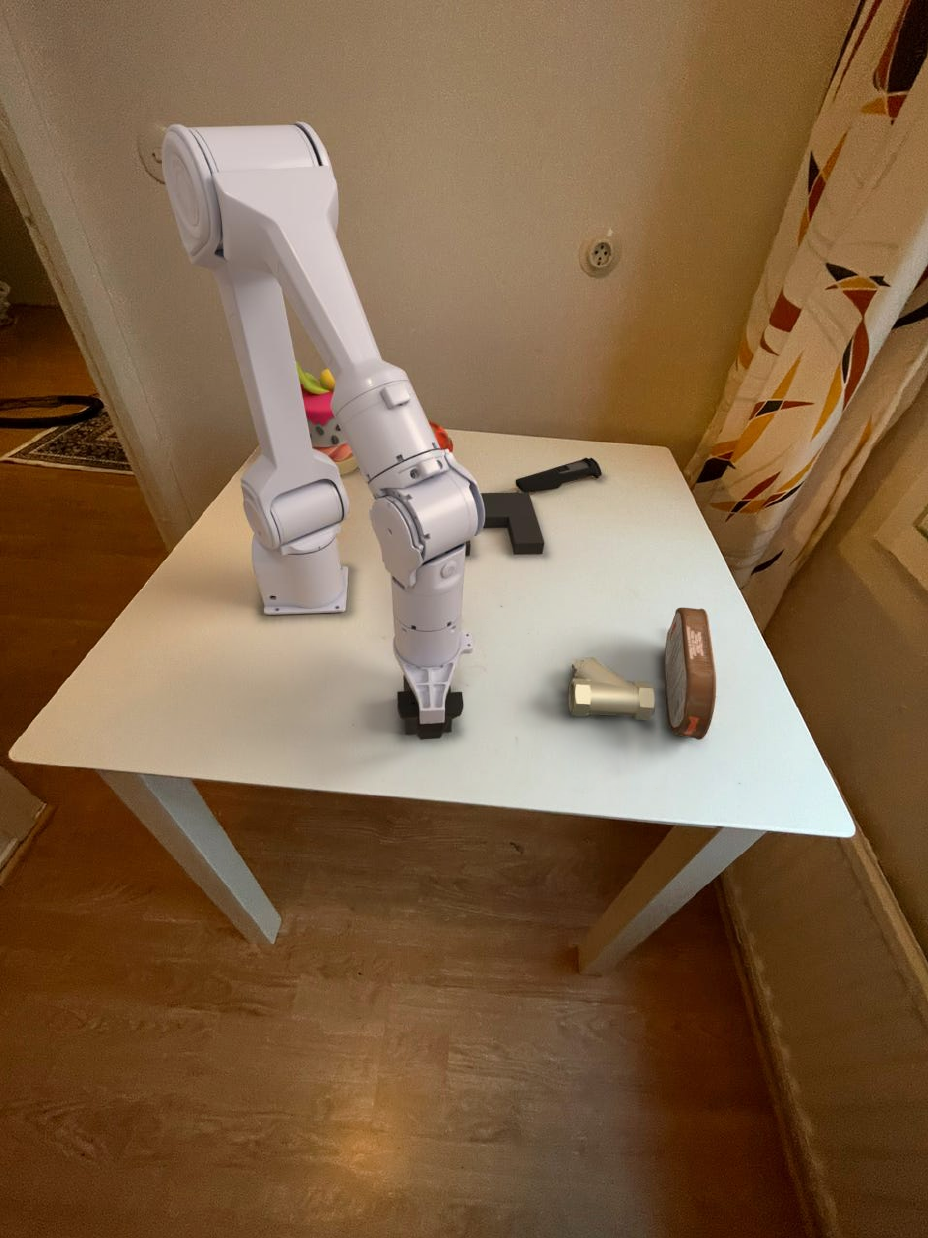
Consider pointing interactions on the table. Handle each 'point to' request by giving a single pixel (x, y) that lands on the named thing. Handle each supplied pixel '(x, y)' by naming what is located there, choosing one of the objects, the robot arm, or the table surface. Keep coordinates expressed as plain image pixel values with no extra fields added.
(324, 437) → the cake
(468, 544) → the pad base
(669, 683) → the tin
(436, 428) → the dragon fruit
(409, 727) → the pad
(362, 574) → the table surface
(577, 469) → the electric trimmer
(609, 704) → the pipe fitting
